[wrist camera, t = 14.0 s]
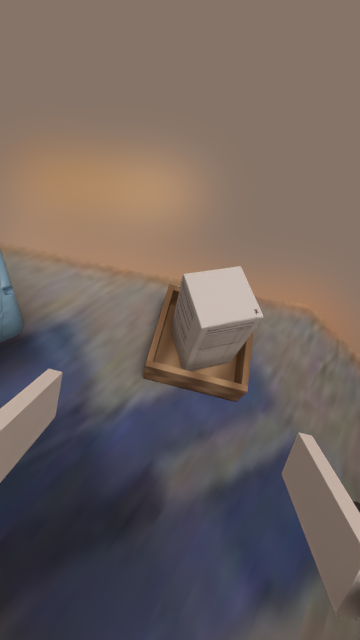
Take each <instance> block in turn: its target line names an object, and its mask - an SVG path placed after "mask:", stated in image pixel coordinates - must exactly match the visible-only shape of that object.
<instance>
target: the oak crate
mask: <svg viewBox="0 0 360 640" xmlns="http://www.w3.org/2000/svg"><path fill="white" fill-rule="evenodd" d="M179 290H180V287H177V286H174V285H170V284H169V287H168V290H167V293H166V297H165V300H164V304H163V307H162V310H161V314H160V317H159V320H158V324H157V327H156V331H155V334H154V337H153V341H152V344H151V348H150V351H149V354H148V358H147V361H146V364H145V372H144V378H145V379H149V380H152V381H156V382H160V383H164V384H168V385H172V386H176V387H180V388H184V389H188V390H192V391H196V392H199V393H203V394H207V395H211V396H215V397H219V398H223V399H227V400H231V401H235V402H236V401H237V400H239V399H240V398H241V397H242V396H243V395H244V394H245V393H247V390H248V379H249V369H250V358H251V348H252V338H253V332H252V334H251V335H250V336H249V338H248V339H247V340H246V342H245V343H244V344H243V346H242V347H241V349H240V350H239V351H238V353H237V354H236V355H235V357H234V358H233V359H232V361H231V362H230V363H226V364H222V365H217V366H212V367H208V368H204V369H199V370H195V371H188V370H184V369H182V367H181V364H180V360H179V357H178V353H177V349H176V346H175V342H174V339H173V335H172V331H171V327H172V323H173V318H174V313H175V309H176V304H177V299H178V295H179Z"/></svg>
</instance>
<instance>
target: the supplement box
mask: <svg viewBox="0 0 360 640" xmlns="http://www.w3.org/2000/svg"><path fill="white" fill-rule="evenodd" d="M262 319H263V314H262V312H261V310H260V307H259V305H258V303H257V301H256V299H255V297H254V295H253V292H252V290H251V288H250V286H249V283H248V281H247V279H246V277H245V275H244V273H243V270H242V269H241V266H238V267H232V268H225V269H217V270H210V271H203V272H196V273H188V274H183V277H182V281H181V286H180V290H179V295H178V299H177V304H176V309H175V313H174V318H173V323H172V327H171V331H172V335H173V339H174V342H175V346H176V349H177V353H178V357H179V360H180V364H181V367H182V369H184V370H188V371H195V370H199V369H204V368H208V367H212V366H217V365H222V364H226V363H230V362H231V361H232V359H233V358H234V357H235V355H236V354H237V353H238V351H239V350H240V349H241V347H242V346H243V344H244V343H245V342H246V340H247V339H248V338H249V336H250V335H251V334H252V332H253V331H254V330H255V328H256V327H257V326H258V324H259V323H260V321H261V320H262Z"/></svg>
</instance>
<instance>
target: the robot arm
mask: <svg viewBox="0 0 360 640" xmlns="http://www.w3.org/2000/svg"><path fill="white" fill-rule="evenodd" d="M23 328H24V321H23V318H22V315H21V311H20V308H19V305H18V302H17V299H16V296H15V293H14V290H13V287H12V284H11V281H10V278H9V275H8V271H7V268H6V265H5V262H4V259H3V256H2V253H1V250H0V343H1V342H3V341H6V340H8V339H10V338H13V337H15V336H17V335H19V334H20V333H21V332H22V330H23ZM62 373H63V372H60V371H56V370H52V369H48V370H47V371H45V372H44V373H43V374H42V375H41V376H39V377H38V378H37V379H36V380H35V381H33V382H32V383H31V384H30V385H29V386H27V387H26V388H25V389H24V390H23V391H21V392H20V393H19V394H18V395H16V396H15V397H14V398H13V399H12V400H10V401H9V402H8V403H7V404H6V405H4V406H3V407H2V408H1V409H0V483H1V481H2V480H3V479H4V478H5V477H6V475H7V474H8V473H9V472H10V471H11V469H12V468H13V467H14V466H15V465H16V463H17V462H18V461H19V460H20V458H21V457H22V456H23V455H24V454H25V452H26V451H27V450H28V449H29V448H30V446H31V445H32V444H33V443H34V442H35V440H36V439H37V438H38V437H39V436H40V434H41V433H42V432H43V431H44V430H45V428H46V427H47V426H48V425H49V423H50V422H51V421H52V420H53V419H54V417H55V415H56V409H57V403H58V397H59V391H60V385H61V379H62ZM282 476H283V479H284V481H285V484H286V486H287V489H288V492H289V494H290V497H291V500H292V502H293V505H294V507H295V510H296V513H297V515H298V518H299V521H300V523H301V526H302V528H303V531H304V534H305V536H306V539H307V541H308V544H309V547H310V549H311V552H312V555H313V557H314V560H315V562H316V565H317V568H318V570H319V573H320V575H321V578H322V581H323V583H324V586H325V589H326V591H327V594H328V596H329V599H330V602H331V604H332V607H333V609H334V612H335V615H338V616H342V617H346V618H350V619H354V620H357V619H358V617H359V615H360V503H358V502H354V501H352V500H351V498H350V496H349V495H348V493H347V492H346V490H345V488H344V487H343V485H342V483H341V482H340V480H339V479H338V477H337V475H336V474H335V472H334V471H333V469H332V467H331V466H330V464H329V463H328V461H327V459H326V458H325V456H324V454H323V453H322V451H321V450H320V448H319V446H318V445H317V443H316V442H315V440H314V438H313V437H312V436H311V435H307V434H303V433H299V432H298V434H297V437H296V439H295V442H294V444H293V447H292V449H291V452H290V454H289V457H288V459H287V462H286V464H285V467H284V469H283V472H282Z"/></svg>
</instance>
